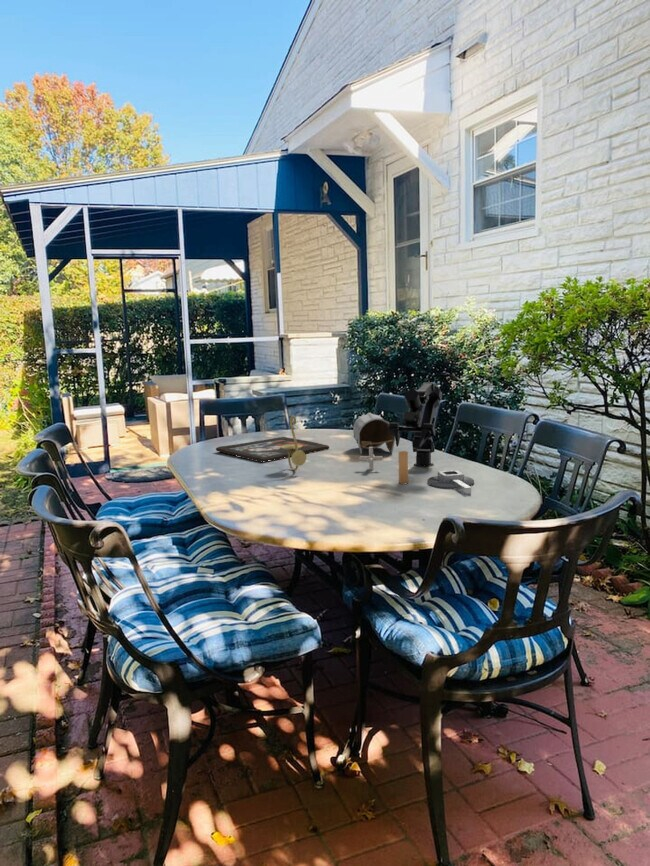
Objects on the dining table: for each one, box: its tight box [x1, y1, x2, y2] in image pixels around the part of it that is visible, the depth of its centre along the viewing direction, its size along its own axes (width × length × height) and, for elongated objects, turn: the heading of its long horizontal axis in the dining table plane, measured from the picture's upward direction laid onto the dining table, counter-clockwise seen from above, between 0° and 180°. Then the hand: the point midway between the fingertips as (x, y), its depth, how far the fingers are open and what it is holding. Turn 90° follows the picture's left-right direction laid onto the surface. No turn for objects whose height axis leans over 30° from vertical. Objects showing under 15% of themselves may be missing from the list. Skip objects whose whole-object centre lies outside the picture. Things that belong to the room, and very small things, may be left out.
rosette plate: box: [427, 469, 475, 495], centre depth 250 cm, size 27×18×4 cm, turn 10°
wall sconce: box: [281, 414, 307, 472], centre depth 282 cm, size 14×10×25 cm
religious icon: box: [215, 436, 330, 463], centre depth 331 cm, size 40×45×3 cm
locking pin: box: [398, 450, 409, 485], centre depth 256 cm, size 4×4×12 cm
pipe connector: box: [359, 447, 384, 471], centre depth 281 cm, size 10×10×10 cm
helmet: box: [352, 412, 396, 455], centre depth 321 cm, size 19×18×30 cm
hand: (407, 446), depth 261 cm, fingers open, 9 cm apart
